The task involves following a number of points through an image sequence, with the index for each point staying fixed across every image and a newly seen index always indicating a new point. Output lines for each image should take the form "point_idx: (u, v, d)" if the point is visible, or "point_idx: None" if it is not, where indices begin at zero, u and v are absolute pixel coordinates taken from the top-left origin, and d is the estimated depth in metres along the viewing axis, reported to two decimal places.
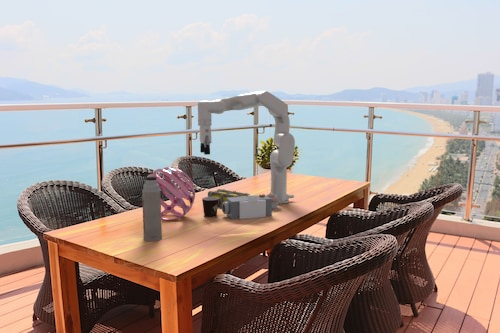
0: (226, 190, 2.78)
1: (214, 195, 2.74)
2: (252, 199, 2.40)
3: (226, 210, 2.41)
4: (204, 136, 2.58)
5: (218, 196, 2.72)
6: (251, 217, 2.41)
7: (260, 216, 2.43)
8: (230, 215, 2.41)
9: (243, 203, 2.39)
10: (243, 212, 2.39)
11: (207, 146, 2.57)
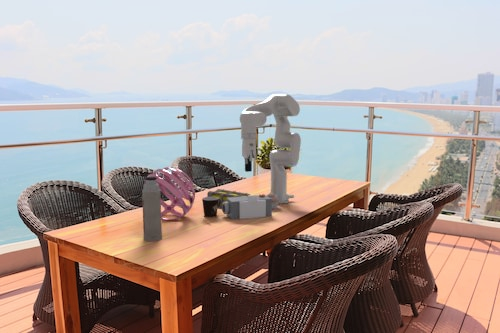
0: (226, 190, 2.78)
1: (214, 195, 2.74)
2: (252, 199, 2.40)
3: (226, 210, 2.41)
4: (248, 151, 2.38)
5: (218, 196, 2.71)
6: (251, 217, 2.41)
7: (260, 216, 2.43)
8: (230, 215, 2.41)
9: (243, 203, 2.39)
10: (243, 212, 2.39)
11: (249, 163, 2.42)
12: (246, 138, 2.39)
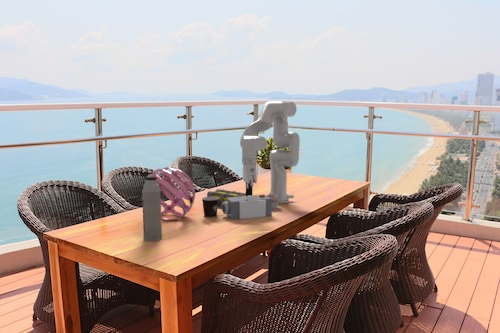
0: (225, 190, 2.78)
1: (214, 195, 2.73)
2: (252, 199, 2.40)
3: (226, 210, 2.41)
4: (249, 176, 2.39)
5: (218, 196, 2.71)
6: (251, 217, 2.41)
7: (260, 216, 2.43)
8: (230, 215, 2.41)
9: (243, 203, 2.39)
10: (243, 212, 2.39)
11: (250, 187, 2.43)
12: (247, 163, 2.39)
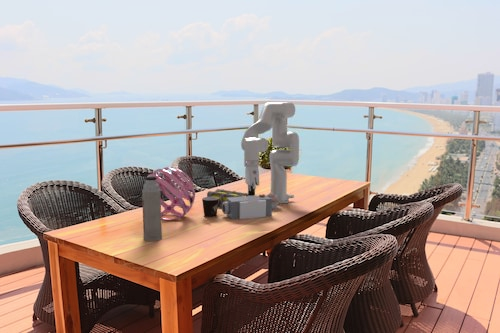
0: (225, 190, 2.78)
1: (214, 195, 2.73)
2: (252, 200, 2.39)
3: (226, 210, 2.41)
4: (252, 178, 2.35)
5: (218, 196, 2.71)
6: (251, 217, 2.41)
7: (260, 216, 2.43)
8: (230, 215, 2.41)
9: (244, 203, 2.38)
10: (243, 212, 2.39)
11: (252, 190, 2.39)
12: (249, 165, 2.36)
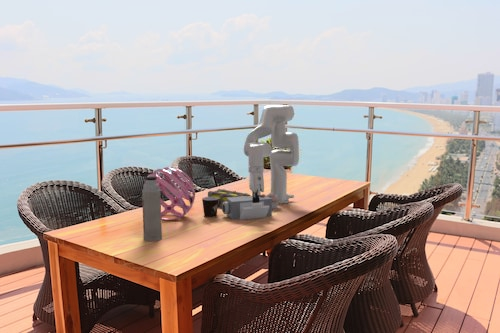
0: (226, 190, 2.78)
1: (214, 195, 2.74)
2: (256, 207, 2.35)
3: (226, 210, 2.41)
4: (256, 185, 2.29)
5: (218, 196, 2.72)
6: (251, 218, 2.41)
7: (260, 217, 2.42)
8: (230, 215, 2.41)
9: (246, 210, 2.34)
10: (244, 215, 2.38)
11: (257, 196, 2.33)
12: (254, 171, 2.30)
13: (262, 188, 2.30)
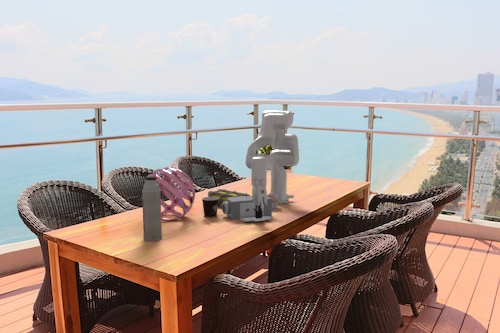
0: (226, 190, 2.78)
1: (214, 195, 2.74)
2: None
3: (226, 210, 2.41)
4: (259, 198, 2.26)
5: (218, 196, 2.72)
6: None
7: None
8: (230, 215, 2.41)
9: None
10: None
11: (260, 210, 2.30)
12: (257, 184, 2.26)
13: (265, 201, 2.27)
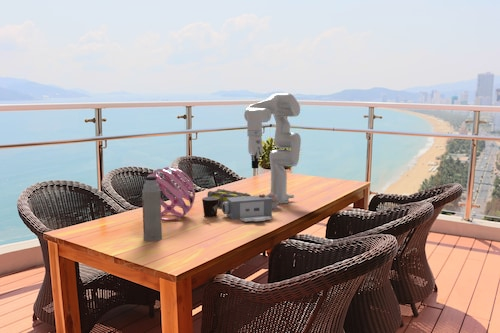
0: (226, 190, 2.78)
1: (214, 195, 2.74)
2: None
3: (226, 210, 2.41)
4: (255, 148, 2.39)
5: (218, 196, 2.72)
6: None
7: None
8: (230, 215, 2.41)
9: None
10: None
11: (256, 160, 2.43)
12: (252, 135, 2.39)
13: (261, 151, 2.40)
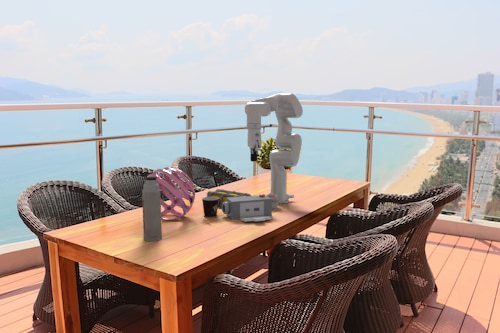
0: (225, 190, 2.78)
1: (214, 195, 2.73)
2: None
3: (226, 210, 2.41)
4: (254, 141, 2.42)
5: (218, 196, 2.71)
6: None
7: None
8: (230, 215, 2.41)
9: None
10: None
11: (254, 153, 2.46)
12: (252, 128, 2.42)
13: (260, 144, 2.43)
